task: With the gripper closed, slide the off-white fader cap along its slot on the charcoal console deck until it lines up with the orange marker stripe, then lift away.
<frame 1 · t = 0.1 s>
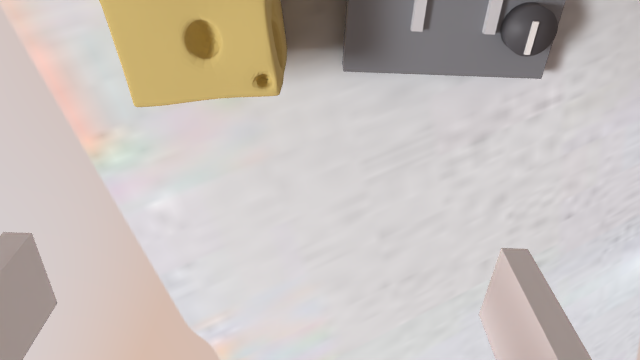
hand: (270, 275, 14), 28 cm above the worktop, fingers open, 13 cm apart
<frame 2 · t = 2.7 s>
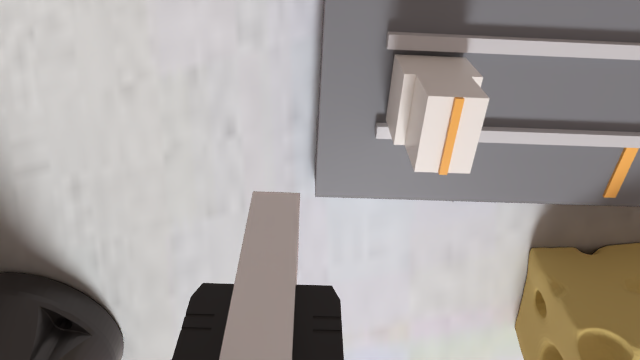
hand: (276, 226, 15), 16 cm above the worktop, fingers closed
cheese: (579, 286, 40), on the worktop
fader: (436, 111, 24), point 5 cm above the worktop, slide at -8.0 cm
console: (541, 81, 29), on the worktop
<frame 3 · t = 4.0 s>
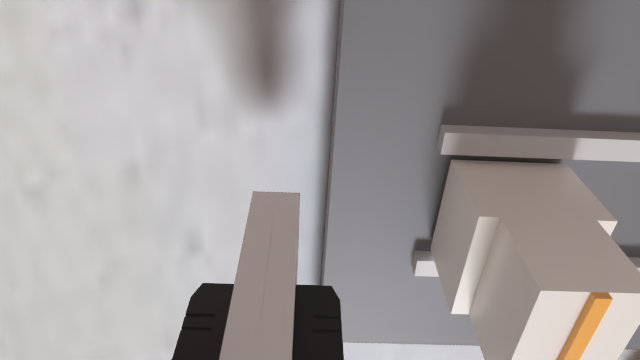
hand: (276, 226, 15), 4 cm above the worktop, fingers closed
fader: (527, 268, 14), point 5 cm above the worktop, slide at -8.0 cm
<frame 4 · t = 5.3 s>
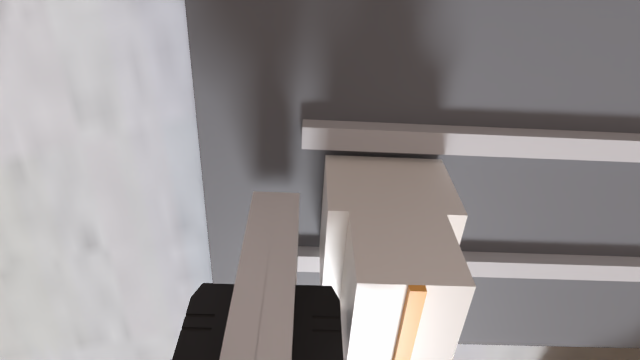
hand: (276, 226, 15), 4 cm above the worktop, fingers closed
fader: (388, 263, 14), point 5 cm above the worktop, slide at -7.7 cm, touching gripper
console: (555, 178, 19), on the worktop
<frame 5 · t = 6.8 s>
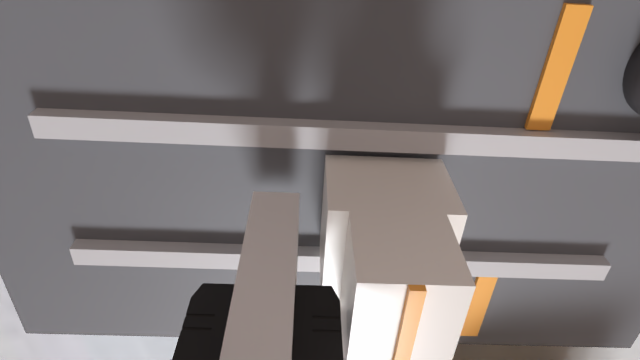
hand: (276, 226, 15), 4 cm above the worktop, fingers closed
fader: (388, 262, 14), point 5 cm above the worktop, slide at 1.0 cm, touching gripper
console: (347, 170, 19), on the worktop
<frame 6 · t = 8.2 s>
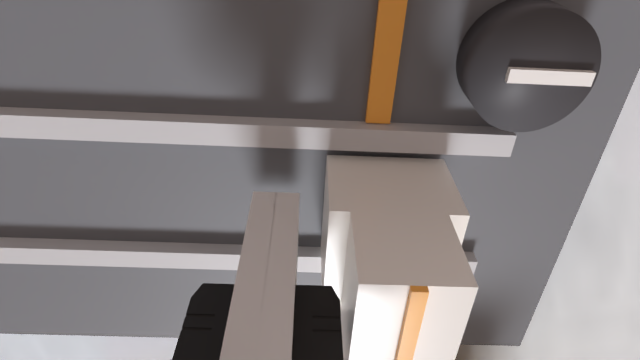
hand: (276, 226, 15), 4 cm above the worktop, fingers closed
fader: (390, 263, 14), point 5 cm above the worktop, slide at 6.4 cm, touching gripper
console: (213, 165, 19), on the worktop
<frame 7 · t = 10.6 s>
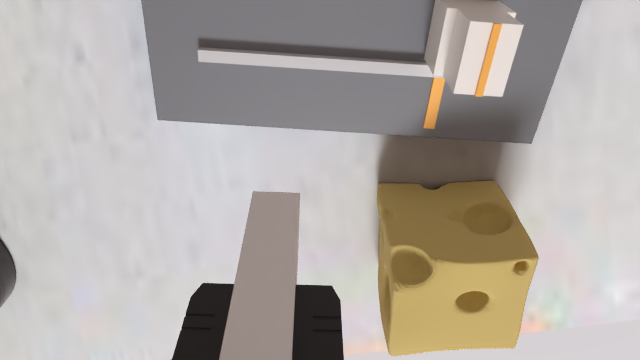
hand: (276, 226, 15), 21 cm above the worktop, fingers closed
cheese: (433, 224, 42), on the worktop
fader: (472, 44, 28), point 5 cm above the worktop, slide at 6.6 cm
console: (356, 14, 32), on the worktop
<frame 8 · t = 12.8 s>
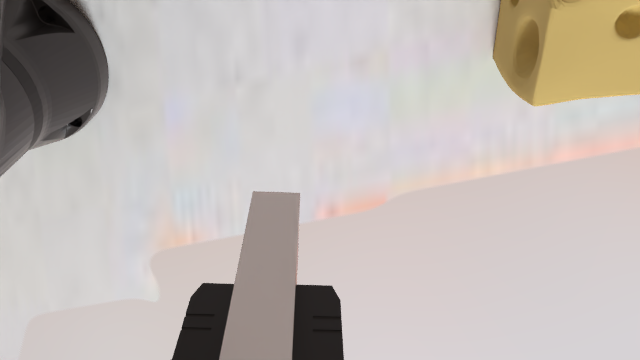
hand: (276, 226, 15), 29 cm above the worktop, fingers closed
cheese: (555, 1, 40), on the worktop
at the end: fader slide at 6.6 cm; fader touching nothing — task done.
